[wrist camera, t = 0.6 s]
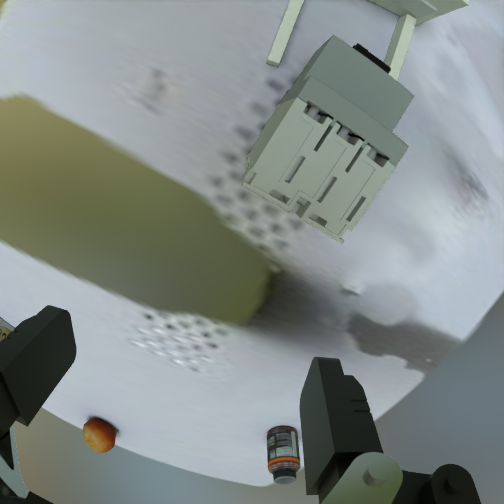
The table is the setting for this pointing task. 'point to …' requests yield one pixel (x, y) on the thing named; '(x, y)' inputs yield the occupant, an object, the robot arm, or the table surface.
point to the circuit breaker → (331, 139)
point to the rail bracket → (411, 14)
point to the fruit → (99, 435)
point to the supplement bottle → (283, 454)
